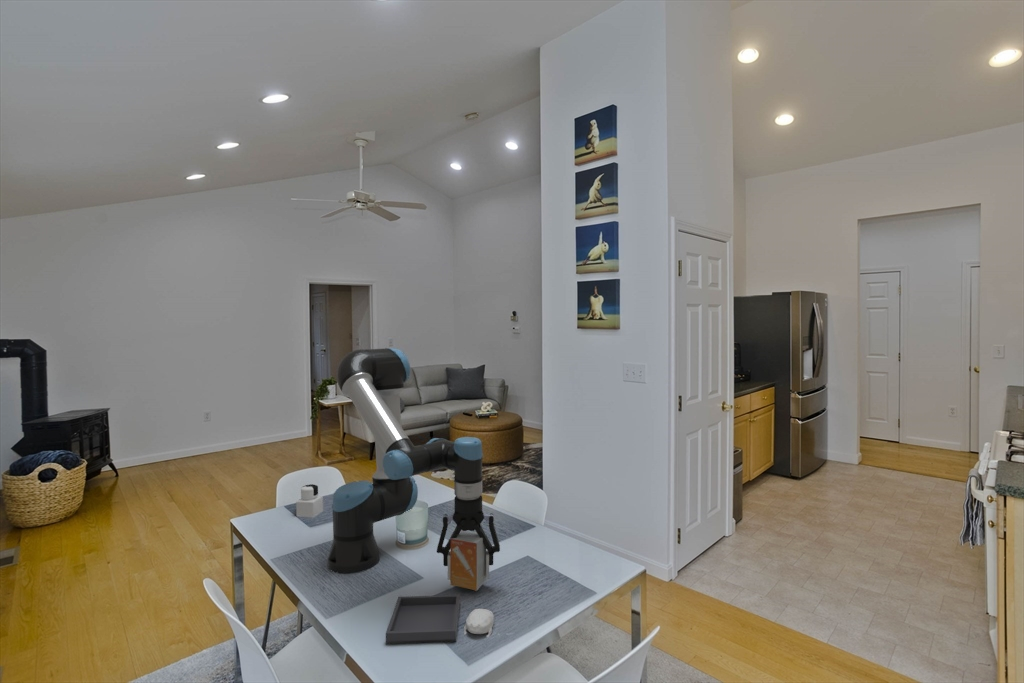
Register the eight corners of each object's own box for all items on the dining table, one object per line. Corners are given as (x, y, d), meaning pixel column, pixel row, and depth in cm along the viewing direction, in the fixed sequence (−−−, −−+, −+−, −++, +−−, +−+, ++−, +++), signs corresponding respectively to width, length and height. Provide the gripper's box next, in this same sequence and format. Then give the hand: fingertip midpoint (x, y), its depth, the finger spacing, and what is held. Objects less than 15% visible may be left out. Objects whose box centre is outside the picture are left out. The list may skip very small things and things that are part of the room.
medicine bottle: (306, 513, 195) (305, 482, 195) (323, 514, 194) (323, 483, 194) (296, 520, 188) (295, 488, 188) (313, 520, 187) (313, 489, 187)
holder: (385, 644, 112) (385, 633, 112) (398, 606, 128) (398, 596, 128) (455, 641, 113) (455, 630, 113) (460, 604, 128) (459, 594, 128)
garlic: (488, 641, 113) (488, 625, 113) (460, 637, 115) (460, 621, 115) (497, 621, 121) (497, 606, 121) (470, 618, 123) (470, 603, 123)
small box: (449, 585, 135) (449, 538, 135) (460, 574, 141) (460, 529, 141) (477, 591, 132) (476, 542, 132) (487, 580, 138) (486, 533, 138)
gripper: (425, 501, 132) (425, 584, 132) (510, 499, 133) (510, 583, 133) (428, 491, 139) (429, 570, 140) (509, 490, 140) (509, 569, 141)
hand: (468, 576), depth 137 cm, fingers closed on small box, 10 cm apart
